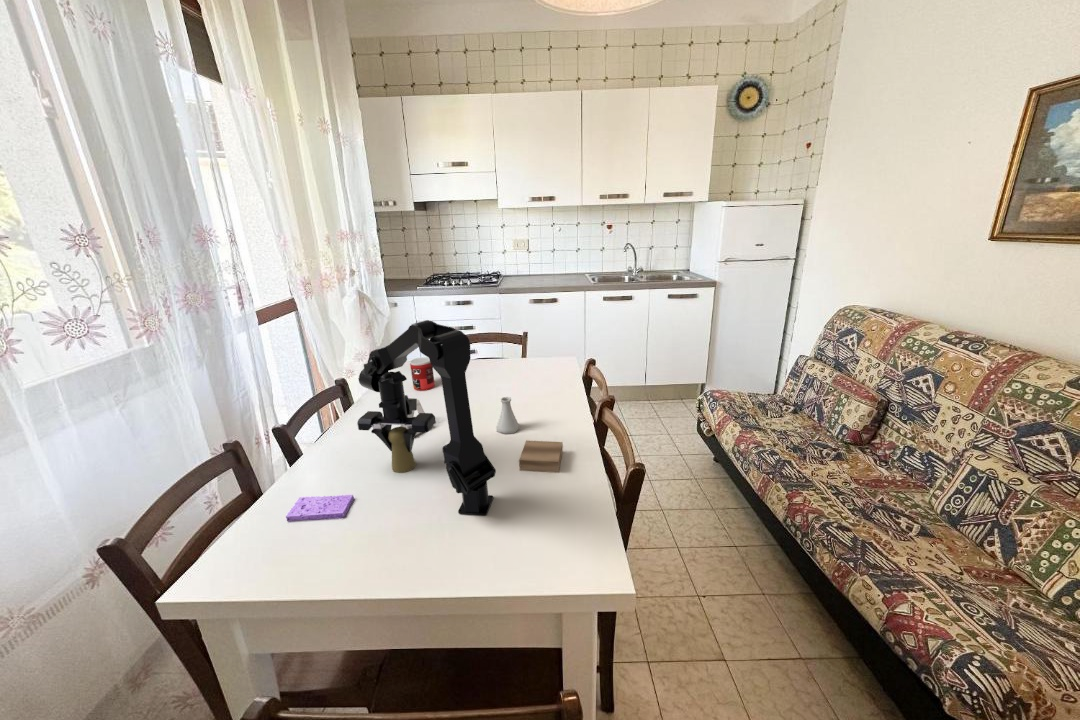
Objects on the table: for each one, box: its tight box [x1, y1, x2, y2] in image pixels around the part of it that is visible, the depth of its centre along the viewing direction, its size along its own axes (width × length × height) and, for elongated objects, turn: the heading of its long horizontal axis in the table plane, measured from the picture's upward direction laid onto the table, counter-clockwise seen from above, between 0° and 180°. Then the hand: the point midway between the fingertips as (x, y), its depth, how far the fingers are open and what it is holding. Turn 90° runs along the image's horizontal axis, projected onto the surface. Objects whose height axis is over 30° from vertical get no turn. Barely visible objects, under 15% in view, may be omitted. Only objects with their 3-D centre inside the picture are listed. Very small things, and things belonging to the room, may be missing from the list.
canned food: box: [409, 356, 435, 392], centre depth 167 cm, size 8×8×11 cm
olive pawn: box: [388, 426, 416, 474], centre depth 114 cm, size 6×6×11 cm
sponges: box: [285, 494, 355, 522], centre depth 99 cm, size 7×13×2 cm, turn 93°
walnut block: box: [518, 440, 564, 473], centre depth 115 cm, size 10×10×3 cm
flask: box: [496, 396, 520, 435], centre depth 132 cm, size 7×7×10 cm
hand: (401, 450), depth 114 cm, fingers closed on olive pawn, 4 cm apart
